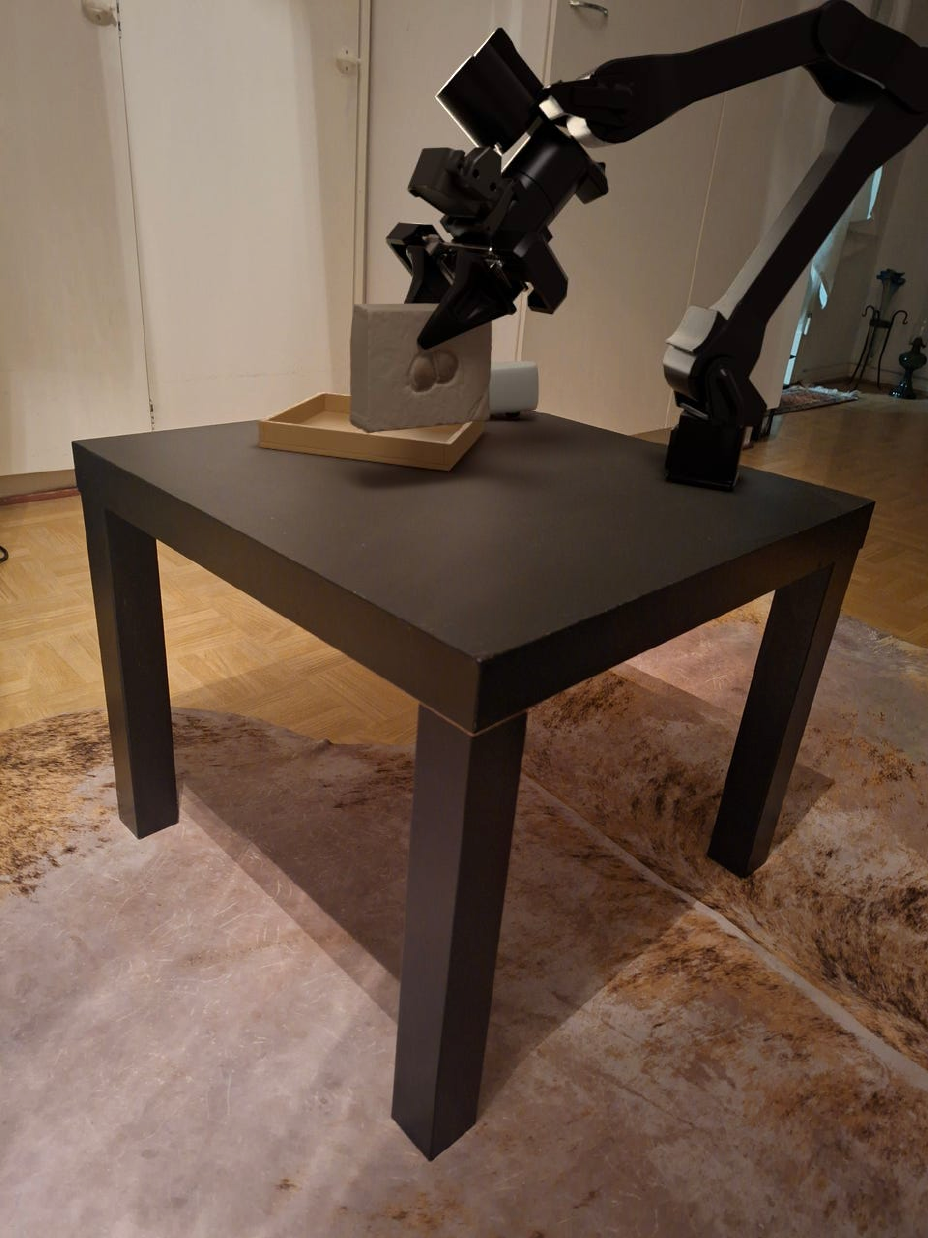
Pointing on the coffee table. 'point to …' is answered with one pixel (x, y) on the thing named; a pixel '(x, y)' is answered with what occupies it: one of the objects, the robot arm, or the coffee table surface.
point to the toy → (513, 387)
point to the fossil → (415, 371)
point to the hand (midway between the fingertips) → (408, 342)
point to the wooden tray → (363, 436)
